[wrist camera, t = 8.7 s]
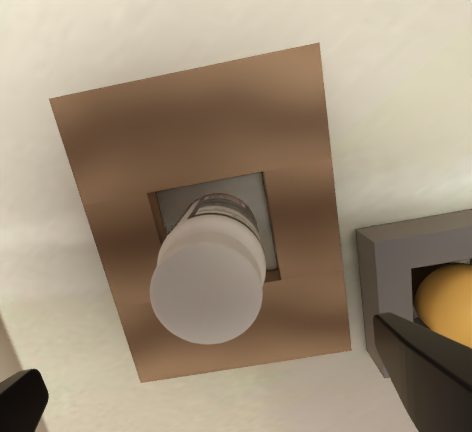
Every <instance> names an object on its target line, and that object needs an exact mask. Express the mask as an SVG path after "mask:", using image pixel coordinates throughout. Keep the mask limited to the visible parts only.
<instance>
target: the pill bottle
mask: <svg viewBox="0 0 472 432" xmlns="http://www.w3.org/2000/svg"><path fill="white" fill-rule="evenodd" d="M265 276H266V261H265V255H264V250H263V247H262V243H261V239H260V236H259V231H258V227H257V223H256V220H255V218H254V215H253V214H252V212H251V210H250V209H249V208H248V206H247V205H246V204H245V203H243V202H242V201H241V200H239V199H237V198H236V197H233V196H230V195H227V194H211V195H207V196H204V197H202V198H200V199H198V200H197V201H195V202H194V203H193V204H192V205H191V206H190V207H189V208H188V209H187V210H186V212H185V213H184V215H183V216H182V217H181V219H180V220H179V221H178V223H177V224H176V225H175V226H174V228H173V229H172V230H171V232H170V233H169V234H168V235H167V237H166V238H165V240H164V242H163V244H162V246H161V248H160V251H159V254H158V260H157V267H156V269H155V271H154V273H153V276H152V279H151V283H150V301H151V305H152V308H153V310H154V313H155V315H156V316H157V318H158V319H159V321H160V322H161V323H162V324H163V326H164V327H165V328H166V329H168V330H169V331H170V332H171V333H173V334H174V335H176V336H178V337H180V338H182V339H184V340H186V341H189V342H192V343H198V344H218V343H223V342H226V341H229V340H232V339H234V338H236V337H238V336H239V335H241V334H242V333H243V332H245V331H246V330H247V329H248V328H249V327H250V326H251V325H252V323H253V322H254V321H255V319H256V317H257V315H258V313H259V311H260V308H261V304H262V296H263V292H262V287H263V284H264V281H265Z"/></svg>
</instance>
